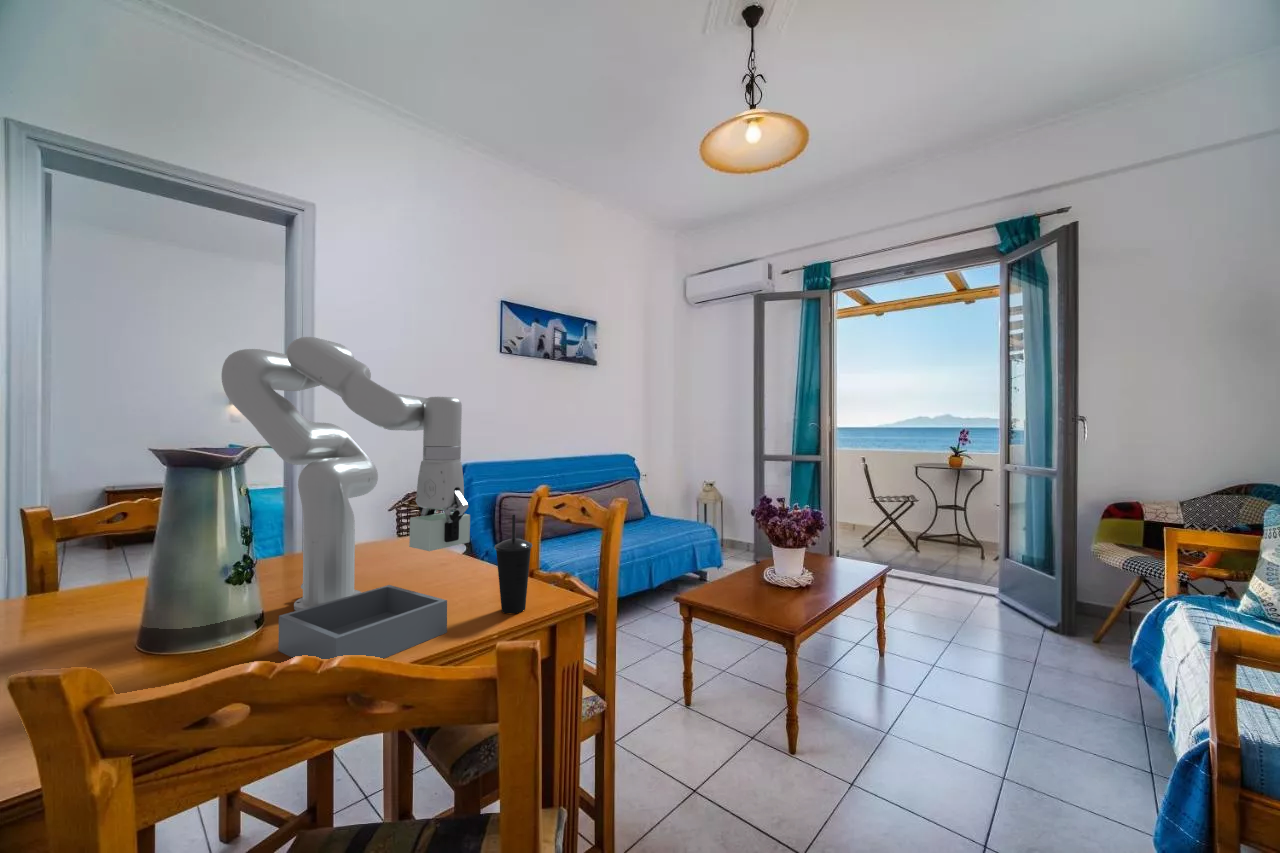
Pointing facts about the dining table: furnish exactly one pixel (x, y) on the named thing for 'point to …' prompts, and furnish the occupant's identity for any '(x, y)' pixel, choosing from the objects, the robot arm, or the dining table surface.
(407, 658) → the dining table surface
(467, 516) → the block
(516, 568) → the drinking cup
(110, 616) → the dining table surface
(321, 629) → the big crate
